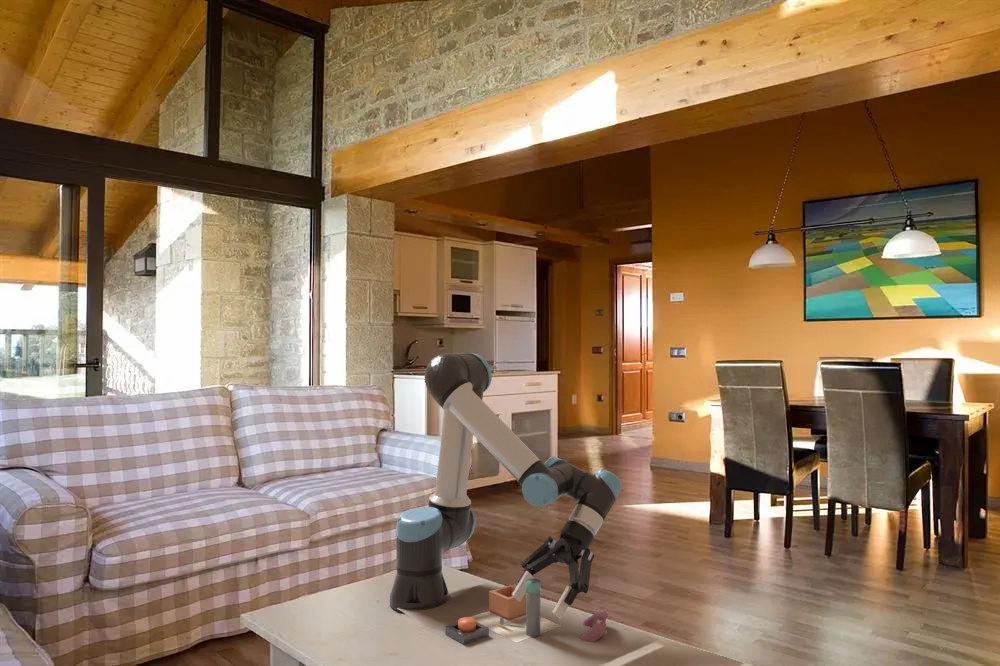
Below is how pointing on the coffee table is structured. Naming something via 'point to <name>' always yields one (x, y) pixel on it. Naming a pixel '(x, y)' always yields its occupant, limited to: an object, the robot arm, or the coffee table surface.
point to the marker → (533, 607)
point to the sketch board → (511, 625)
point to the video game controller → (595, 626)
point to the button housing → (467, 637)
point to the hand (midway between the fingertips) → (535, 606)
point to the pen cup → (506, 603)
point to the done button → (466, 624)
